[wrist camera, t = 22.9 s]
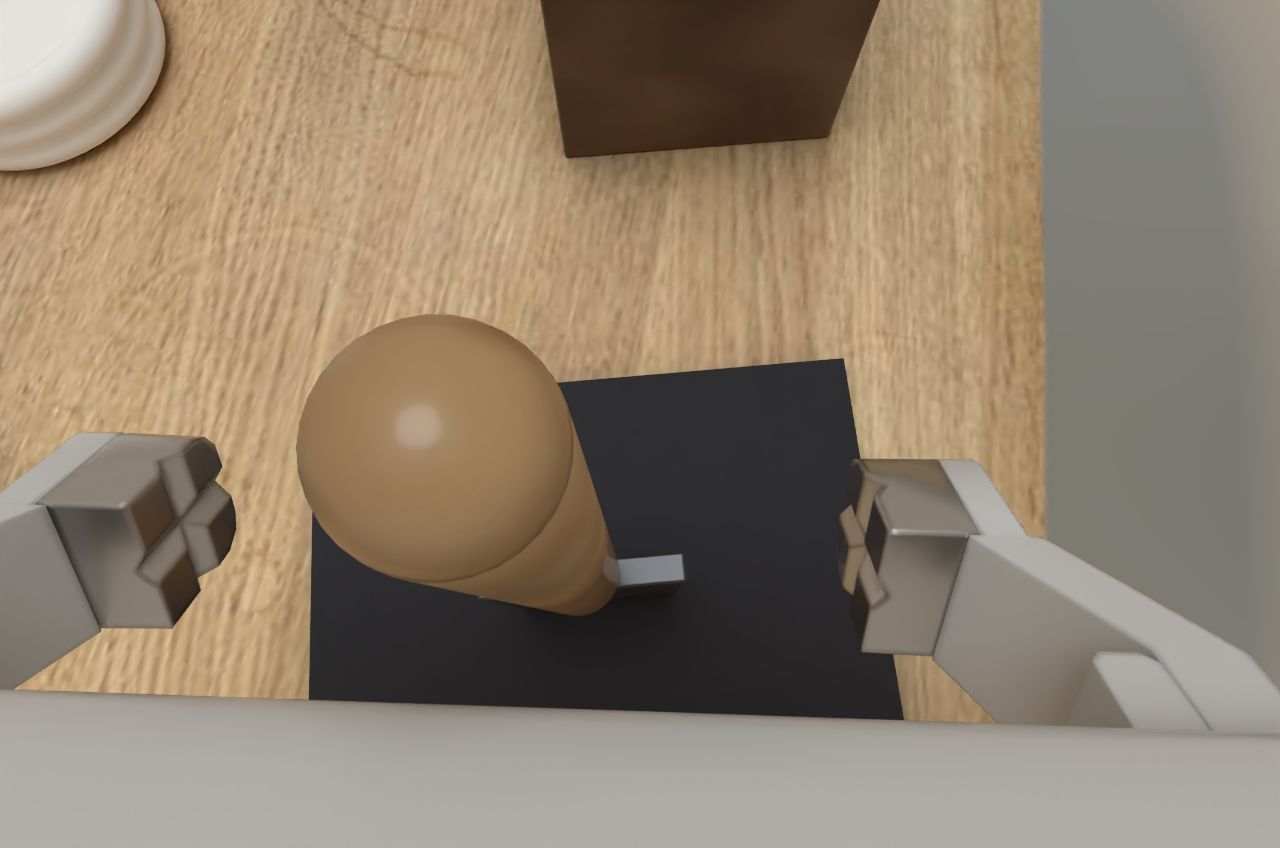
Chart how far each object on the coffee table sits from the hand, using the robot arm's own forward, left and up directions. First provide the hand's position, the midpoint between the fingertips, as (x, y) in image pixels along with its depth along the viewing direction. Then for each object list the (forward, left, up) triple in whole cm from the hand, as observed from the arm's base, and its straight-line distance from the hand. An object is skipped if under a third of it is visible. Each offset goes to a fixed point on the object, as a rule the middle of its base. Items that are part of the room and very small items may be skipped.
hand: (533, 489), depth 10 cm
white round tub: (+20, -21, -16) cm, 33 cm away
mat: (0, +1, -16) cm, 16 cm away
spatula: (0, +1, -15) cm, 15 cm away
